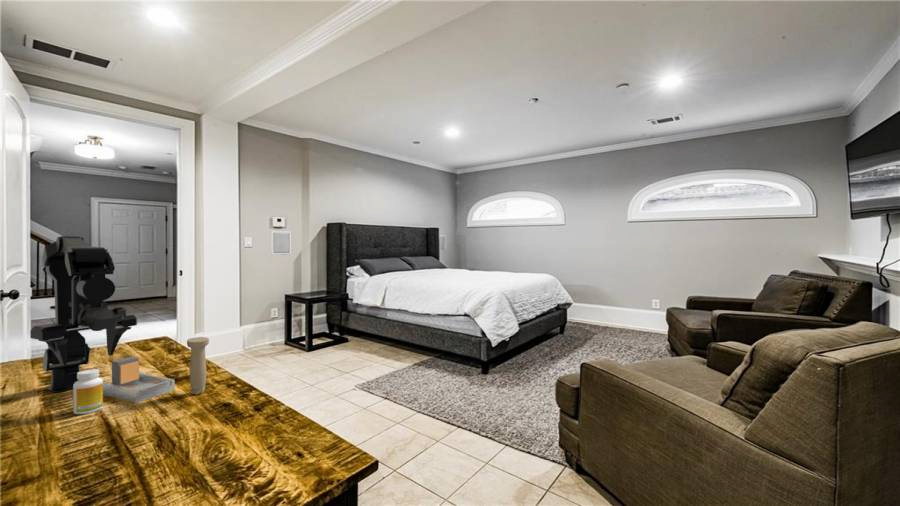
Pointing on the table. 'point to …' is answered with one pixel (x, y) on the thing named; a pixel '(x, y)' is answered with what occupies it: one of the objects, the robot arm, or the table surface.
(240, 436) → the table surface
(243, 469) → the table surface
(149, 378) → the grey tray
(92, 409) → the supplement bottle
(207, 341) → the handle
